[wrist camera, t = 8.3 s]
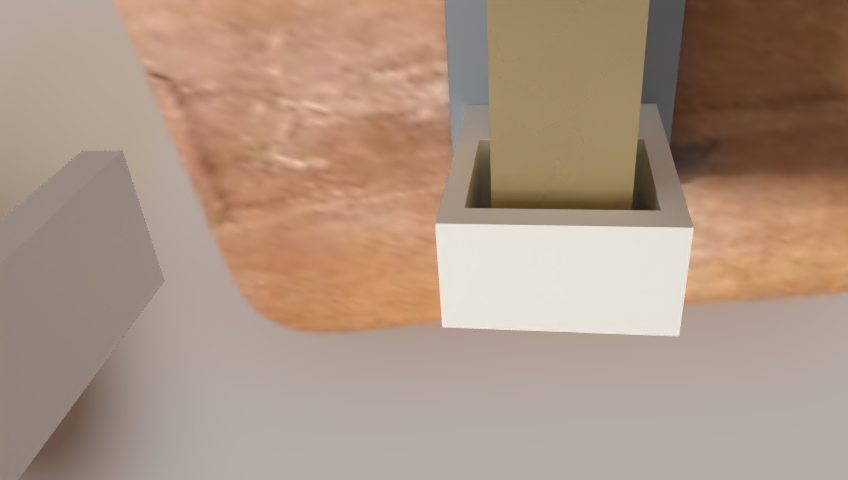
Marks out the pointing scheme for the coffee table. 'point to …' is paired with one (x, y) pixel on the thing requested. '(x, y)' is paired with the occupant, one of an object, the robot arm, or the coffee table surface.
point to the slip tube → (564, 102)
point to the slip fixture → (562, 213)
